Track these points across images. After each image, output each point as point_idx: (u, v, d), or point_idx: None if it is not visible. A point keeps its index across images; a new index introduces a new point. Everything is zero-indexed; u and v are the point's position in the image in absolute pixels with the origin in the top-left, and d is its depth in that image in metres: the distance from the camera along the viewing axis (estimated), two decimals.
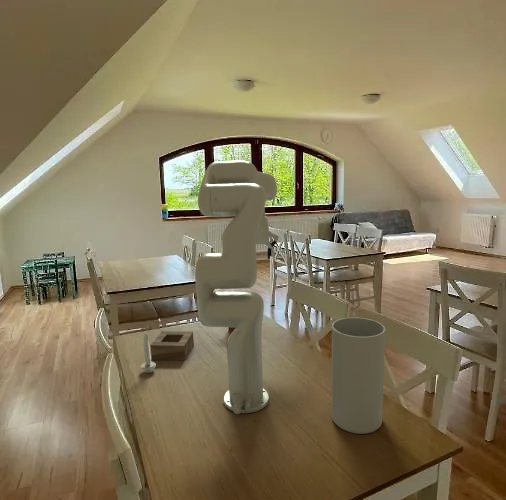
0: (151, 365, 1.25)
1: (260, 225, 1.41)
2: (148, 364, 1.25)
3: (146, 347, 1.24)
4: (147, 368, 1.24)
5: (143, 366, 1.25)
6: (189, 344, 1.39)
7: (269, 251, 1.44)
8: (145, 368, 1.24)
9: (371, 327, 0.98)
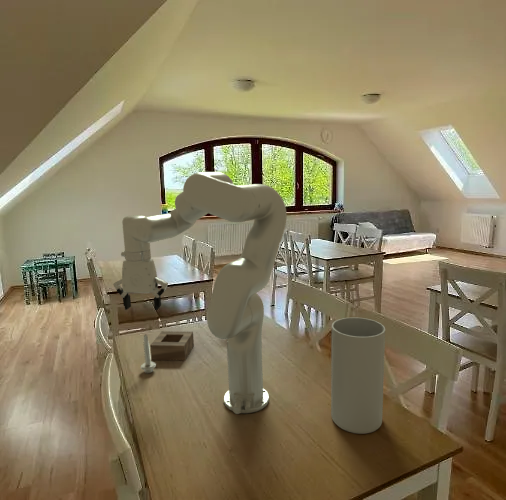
0: (151, 365, 1.25)
1: (142, 271, 1.17)
2: (148, 364, 1.25)
3: (146, 347, 1.24)
4: (147, 368, 1.24)
5: (143, 366, 1.25)
6: (189, 344, 1.39)
7: (156, 301, 1.20)
8: (145, 368, 1.24)
9: (371, 327, 0.98)
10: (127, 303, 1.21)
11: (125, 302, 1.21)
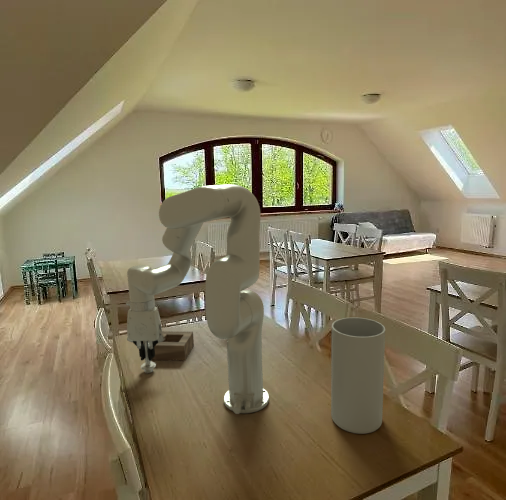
0: (151, 365, 1.25)
1: (147, 320, 1.20)
2: (148, 364, 1.25)
3: (146, 347, 1.24)
4: (147, 368, 1.24)
5: (143, 366, 1.25)
6: (189, 344, 1.39)
7: (150, 352, 1.23)
8: (145, 368, 1.24)
9: (371, 327, 0.98)
10: (143, 354, 1.24)
11: (141, 353, 1.23)
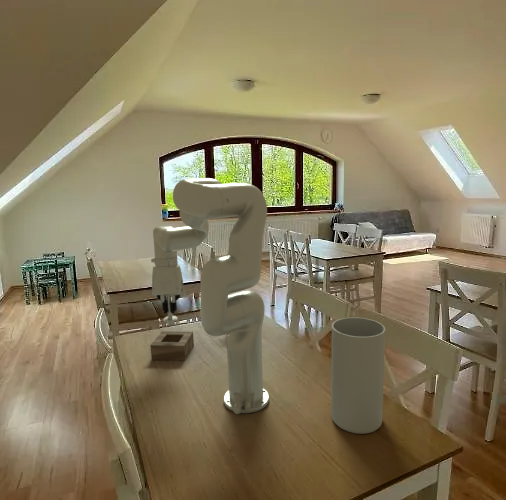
0: (173, 318, 1.37)
1: (171, 275, 1.31)
2: (170, 317, 1.37)
3: (169, 301, 1.35)
4: (170, 320, 1.35)
5: (166, 319, 1.36)
6: (189, 344, 1.39)
7: (172, 305, 1.35)
8: (168, 320, 1.35)
9: (371, 327, 0.98)
10: (166, 307, 1.36)
11: (164, 307, 1.35)
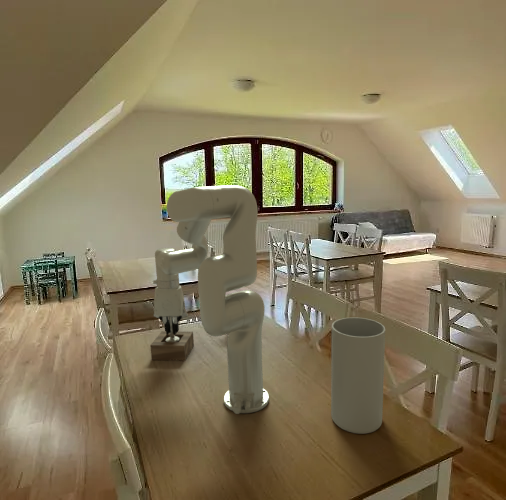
0: (175, 339, 1.38)
1: (172, 297, 1.32)
2: (172, 338, 1.38)
3: (171, 322, 1.37)
4: (172, 341, 1.36)
5: (168, 339, 1.37)
6: (189, 344, 1.39)
7: (174, 326, 1.36)
8: (170, 341, 1.36)
9: (371, 327, 0.98)
10: (168, 328, 1.37)
11: (166, 328, 1.36)
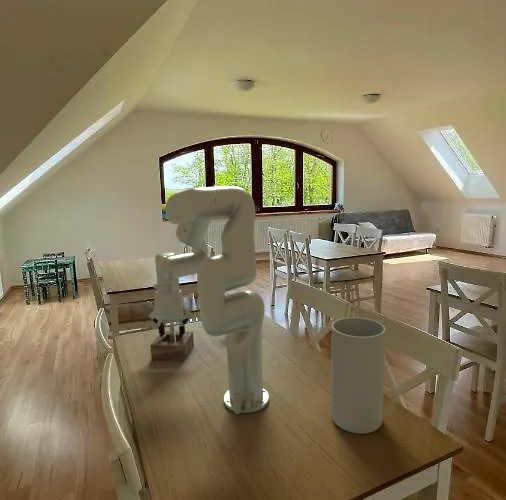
0: None
1: (173, 301, 1.33)
2: None
3: (172, 330, 1.37)
4: None
5: None
6: (189, 344, 1.39)
7: (181, 329, 1.36)
8: None
9: (371, 327, 0.98)
10: (162, 331, 1.37)
11: (160, 330, 1.37)
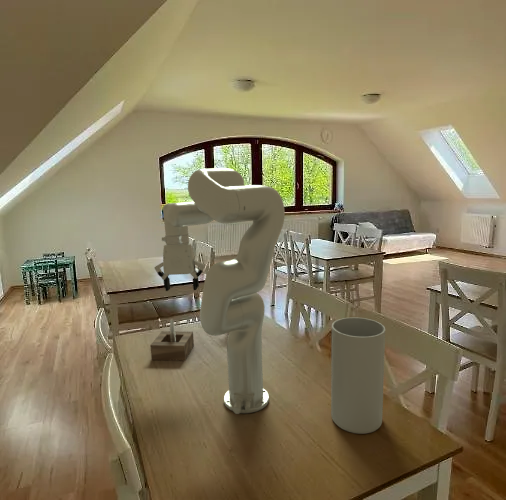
0: None
1: (182, 253, 1.27)
2: None
3: (172, 330, 1.37)
4: None
5: None
6: (189, 344, 1.39)
7: (195, 281, 1.29)
8: None
9: (371, 327, 0.98)
10: (167, 285, 1.31)
11: (166, 284, 1.30)
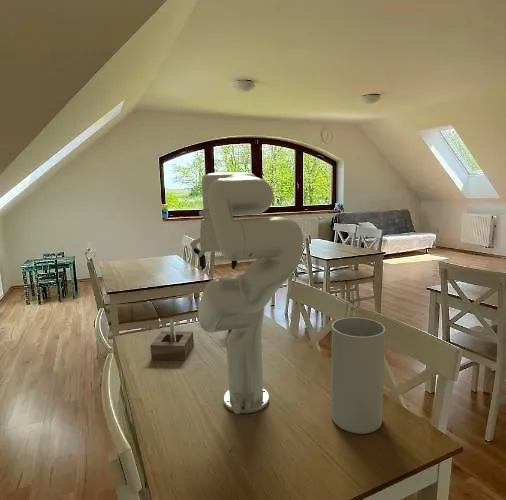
0: None
1: None
2: None
3: (172, 330, 1.37)
4: None
5: None
6: (189, 344, 1.39)
7: None
8: None
9: (371, 327, 0.98)
10: (204, 263, 1.22)
11: (202, 262, 1.21)
